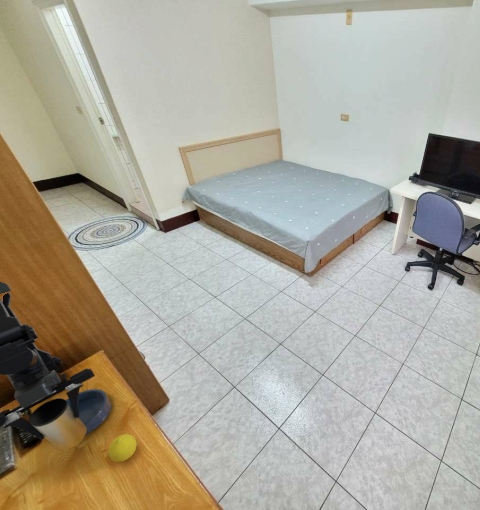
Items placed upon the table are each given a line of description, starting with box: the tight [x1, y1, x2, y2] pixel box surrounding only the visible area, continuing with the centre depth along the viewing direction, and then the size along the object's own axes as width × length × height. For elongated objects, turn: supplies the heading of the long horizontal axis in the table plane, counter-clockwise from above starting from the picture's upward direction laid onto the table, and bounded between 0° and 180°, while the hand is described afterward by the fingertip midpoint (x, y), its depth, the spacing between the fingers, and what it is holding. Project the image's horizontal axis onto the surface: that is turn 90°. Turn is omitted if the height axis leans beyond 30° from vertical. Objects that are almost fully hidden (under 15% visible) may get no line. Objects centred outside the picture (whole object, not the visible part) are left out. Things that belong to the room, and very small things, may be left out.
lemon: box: [108, 433, 138, 463], centre depth 68 cm, size 6×6×8 cm
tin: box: [29, 397, 87, 451], centre depth 64 cm, size 6×6×12 cm
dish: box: [65, 388, 112, 436], centre depth 76 cm, size 12×12×4 cm
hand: (61, 428), depth 63 cm, fingers closed on tin, 6 cm apart
